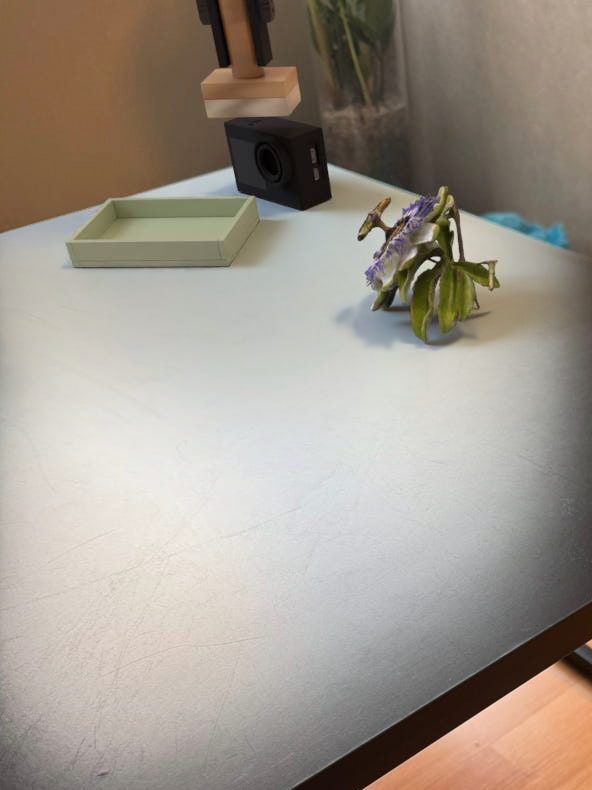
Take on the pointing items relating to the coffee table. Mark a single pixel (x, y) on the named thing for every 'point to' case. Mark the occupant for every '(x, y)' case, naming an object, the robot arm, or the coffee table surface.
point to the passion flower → (411, 249)
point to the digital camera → (279, 160)
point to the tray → (164, 232)
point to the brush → (247, 75)
